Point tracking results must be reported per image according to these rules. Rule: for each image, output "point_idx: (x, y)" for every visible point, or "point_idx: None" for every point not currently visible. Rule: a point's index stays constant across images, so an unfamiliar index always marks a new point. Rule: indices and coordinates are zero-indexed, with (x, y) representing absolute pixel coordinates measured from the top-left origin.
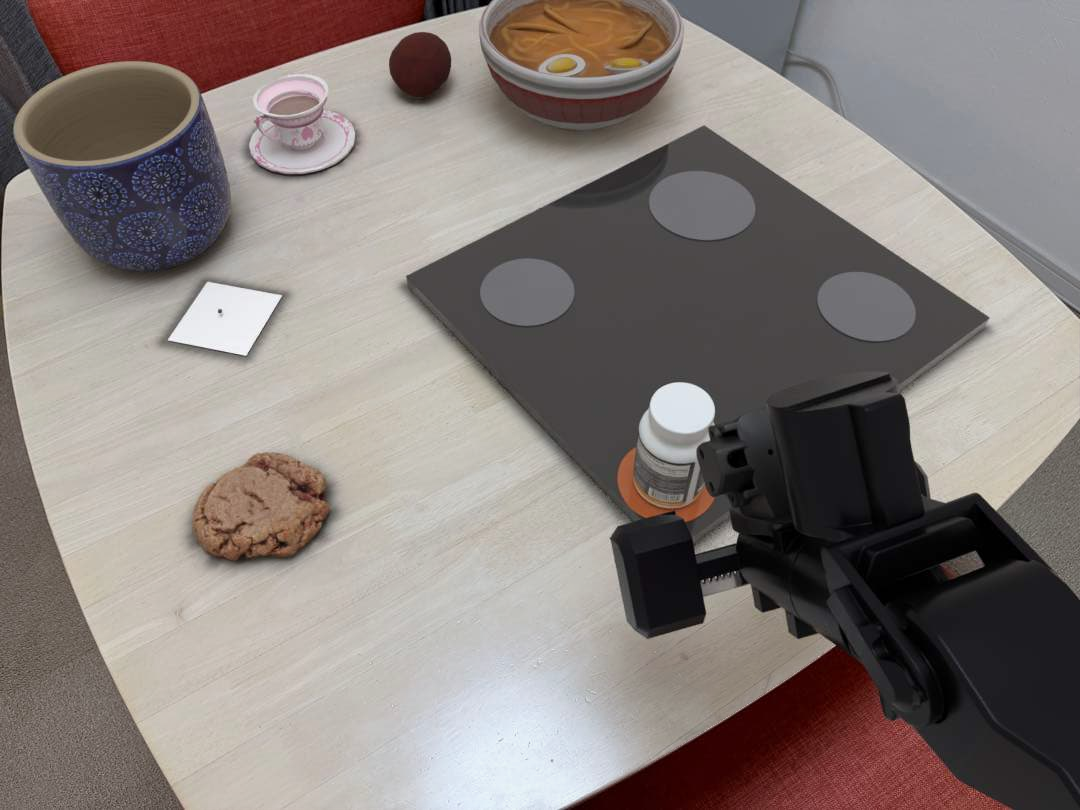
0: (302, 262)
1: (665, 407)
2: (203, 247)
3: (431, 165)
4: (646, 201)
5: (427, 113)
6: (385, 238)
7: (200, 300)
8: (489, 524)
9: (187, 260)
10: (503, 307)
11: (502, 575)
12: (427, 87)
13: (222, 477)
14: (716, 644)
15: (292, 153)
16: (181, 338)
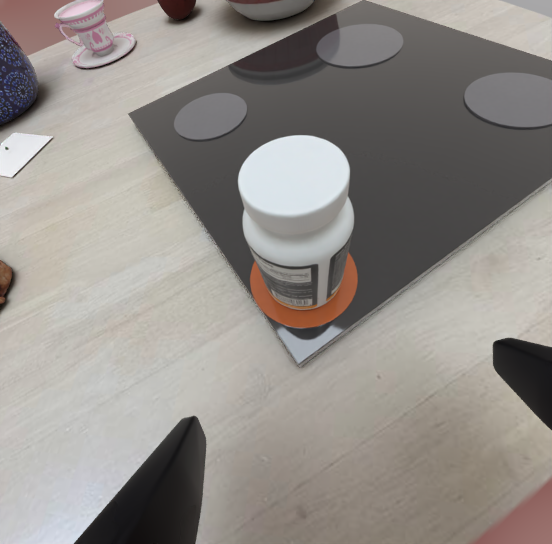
0: (75, 116)
1: (263, 173)
2: (7, 107)
3: (175, 53)
4: (314, 48)
5: (182, 27)
6: (132, 96)
7: (4, 143)
8: (131, 316)
9: (1, 118)
10: (188, 127)
11: (125, 375)
12: (178, 5)
13: None
14: (345, 497)
15: (97, 57)
16: None
